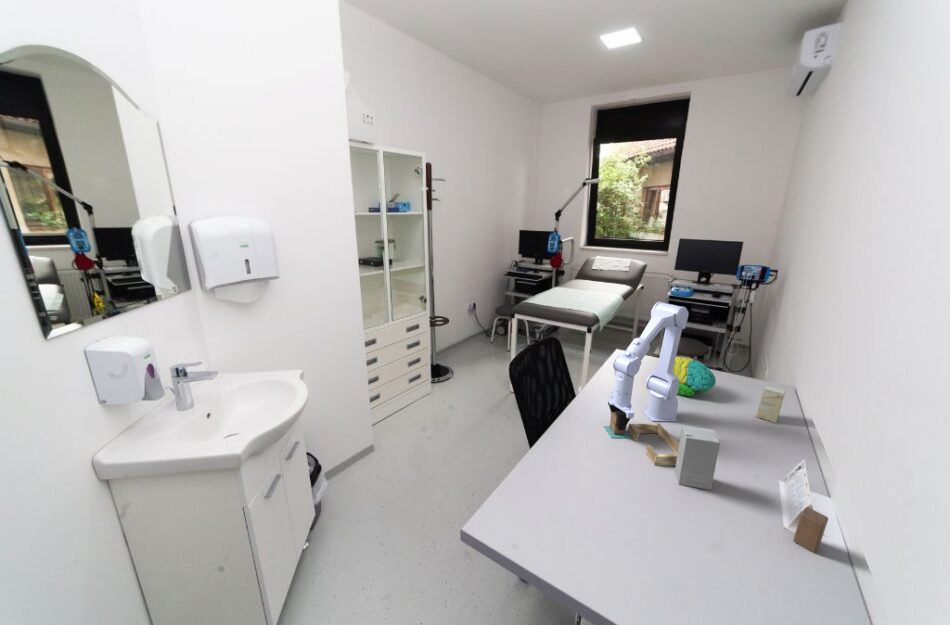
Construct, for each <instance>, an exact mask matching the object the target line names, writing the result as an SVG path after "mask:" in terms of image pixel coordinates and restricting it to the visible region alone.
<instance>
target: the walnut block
mask: <svg viewBox="0 0 950 625" xmlns="http://www.w3.org/2000/svg"><path fill="white" fill-rule="evenodd" d="M609 426H610V429H611V430H612V431H613V433H614V434H626V431H627V428H628V427H627V426H628V424H627V425H626V428H625V430H618V428H617V415H616V413H615V412H611V411H610V420H609Z"/></svg>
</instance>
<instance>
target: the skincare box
mask: <svg viewBox="0 0 950 625" xmlns="http://www.w3.org/2000/svg"><path fill="white" fill-rule="evenodd" d="M678 443H679V449H678V455H677V461H676V465H675V468H674V472H675V474H676V475H675V476H676V479H677V483H678V485H682V486H687V487H693V488H699V489H704V490H707V491H711V489H712V486H713V480H714V475H715V470H716V467H717V461H718V455H719V450H720V446H721V442H720V439H719V437H718V436H717V433H716V432H715V430H714V429H711V428H703V427H698V426H697V427H696V426H690V425H684V424H682V426H681V432H680V436H679V442H678Z"/></svg>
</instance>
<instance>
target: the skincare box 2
mask: <svg viewBox="0 0 950 625" xmlns="http://www.w3.org/2000/svg"><path fill="white" fill-rule="evenodd" d="M785 394H786V390H785V389H781V388H776V387H774V386H768V385H764V386H763V390H762V394H761V398H760V401H759V405H758V409H757V413H756V416H757V417H760V418H763V419H766V420H765V421H767V420H769V421H768V422H770V421H772V422H771V423H773V422H775V423H774V424H777V421H778V420H779V415H780V411H781V408H782V405H783V401H784V398H785ZM757 417H756V418H757ZM760 418H759V419H760ZM763 419H762V420H763Z"/></svg>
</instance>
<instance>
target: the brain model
mask: <svg viewBox="0 0 950 625" xmlns="http://www.w3.org/2000/svg"><path fill="white" fill-rule="evenodd" d="M655 369H657V367H655ZM673 373H674V374H675V375H676V376H677V377H678V379H679V383H678V386H679V390H678V393H677V395H680V396H683V397H690V396H694V395H695V394H696V392H705V393H706V392H708V391H710V390H711V389H713V387H715V385H716V381H717V380H716V376H715V374H714V373H713V371H711V370H710V368H709V367H708V366H706V365H705V364H703V363H702V362H701V361H698V360H695V359H692V358H690V357H683V356H676V358H675V363H674V367H673Z"/></svg>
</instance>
